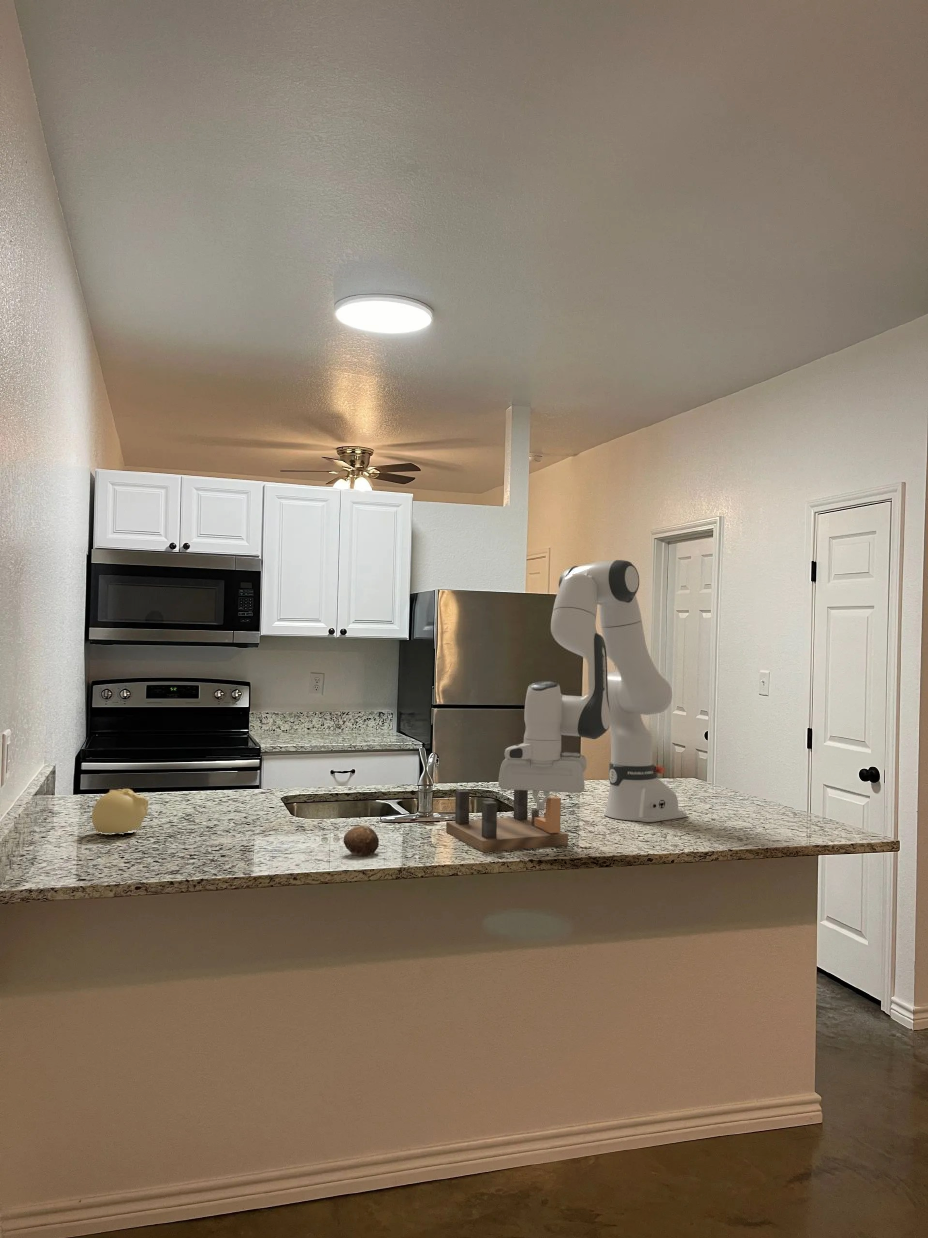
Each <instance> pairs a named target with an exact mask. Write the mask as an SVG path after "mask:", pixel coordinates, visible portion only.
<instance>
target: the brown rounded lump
mask: <svg viewBox="0 0 928 1238" xmlns="http://www.w3.org/2000/svg"><path fill="white" fill-rule="evenodd" d="M342 842H343V844H344V846H345V848H346V849H347V850H348V851H349V852H350V853H352V854H353V855H355V856H360V857H365V856H369V855H372V854H374V853H375V852H376V851H377V850H378V848H379V846H380V845H379V844H380V843H379V842H380V839H379V836H378V834H377V833H376V832H375V830H374V829H372V828H371V827H370V826H366V825H359V826H355V827H352V828H351V829H349V830H348V831H346V833H345V834H344V835H343V841H342Z"/></svg>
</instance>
